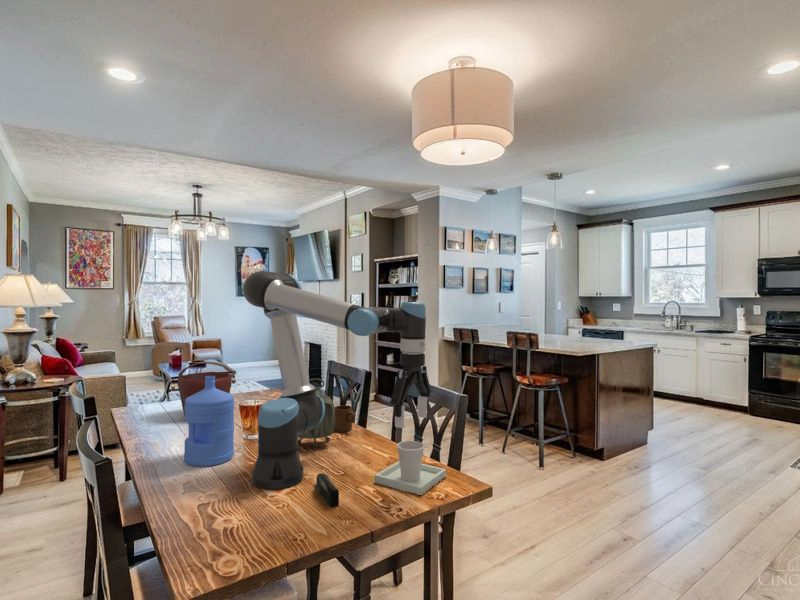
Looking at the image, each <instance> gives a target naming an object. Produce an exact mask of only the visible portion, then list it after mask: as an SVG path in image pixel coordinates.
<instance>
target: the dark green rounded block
mask: <svg viewBox="0 0 800 600" xmlns="http://www.w3.org/2000/svg"><path fill="white" fill-rule="evenodd" d="M313 485H314V487H315V489H317V492H318V493H319V494H320V495H321V497H322V500H323V501H324V502H325V503H326V505H327V506H328V507H331V508H335V506H337V507H339V503H340V502H339V501H340V499H339V498H340V496H339V495H340V490H339V488H337V487H336V486H335V485H334V483H333V482H332V481H331V480H330V477H329V475H327V474H326V473H317V475H316V483H315V484H313Z"/></svg>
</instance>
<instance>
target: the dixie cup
mask: <svg viewBox="0 0 800 600" xmlns="http://www.w3.org/2000/svg"><path fill="white" fill-rule="evenodd" d="M396 447H397V452H398V453H397V454H398V461H399V462H400V471H401V478H402V479H403V480H405V481H417V480H419V479H420V472H421V464H423V456H424V455H423V454H424V448H425V444H424V443H422V442H421V441H417V440H403V441H399V442H398V443H397V445H396Z"/></svg>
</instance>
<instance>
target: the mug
mask: <svg viewBox="0 0 800 600" xmlns="http://www.w3.org/2000/svg"><path fill="white" fill-rule="evenodd" d="M334 408H335V426H334V431H335V432H337V433H347V432H350V431H352V429H353V423H354V422H355V420H356V414H355V412H354V411H353V406H351V405H337V406H334Z"/></svg>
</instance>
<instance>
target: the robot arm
mask: <svg viewBox="0 0 800 600" xmlns="http://www.w3.org/2000/svg"><path fill="white" fill-rule="evenodd" d="M242 293H243V296H244V298H245V300H246V301H247V302H248V303H249V304H250V305H252V306H254V307H258V308H262V309H263V313H264V316H266V317H267V318H268V319H269V321H270V325H271V326H270V327H271V331H272V334H273V335H272V336H273V340H274V346H275V351H276V357H277V361H278V366H279V371H280V372H279V373H280V377H281V382H282V388H283V391H282V392H281V393H280V396H279V398H276V399H275V398H274V399H270V400H268V401H267V400H266V402H263V403H262V404H261V405H260V408H259V409H258V417H257V424H258V428H257V429H258V432H257V433H258V435H257V436H258V439H257V441H258V442H257V443H258V445H257V447H258V448H257V449H258V450H257V458H256V461H255V465H254V469H252V472H251V483H252V485H253V486H254V487H256V488H259V489H265V490H279V489H280V490H282V489H286V488H290V487H294V486H296V485H298V484H299V483H300V482H302V481H303V479H304V468H303V465H302V462H301V461H302V460H301V458H300V455H299V444H298V440H299V437H298V436H300V435H302V434H304V433H305V432H307V431H310V430H312V429H314V428H315V427H316V426H317V425H318V424H320V422H321V421H322V420H323V418H324V415H325V404H324V401H323V400H322V398H321V397H319V395H317V394H316V390H315V387H314V386H315V385H312V384H311V383H310V381H309V380H310V378H309V375H308V369H307V365H306V359H305V355H304V354H305V353H304V348H303V344H302V338H301V333H300V332H301V331H300V328H299V323H298V318H297V317H298V316H301V317H305V318H309V319H311V320H315V321H317V322H321V323H325V324H328V325H331V326H335V327H339V328H342V329H346V330H348V331H350V332H351V333H353V334H354V335H356V336H360V337H367V336H371V335H374V334H378V333H379V334H380V333H400V345H399V346H400V348H399V349H400V352H401V353H400V358H399V361H400V362H399V364H400V365H401V366H402V367H403V370H397V373H396V380H395V383H394V387H393V392H392V394H391V395H392V396H391V399H390V405H392V406H394V428H400V429H405V408H406V407H405V404H404V402H405V401H406V397H407V394H408V393H409V390H410V388H411V387H412V386H413V384H414V385H415V387H416V389H417V391H418V394H419V395H418V396H417V397H418V398H417V399H418V401H417V417H419V418H423V419H427V418H428V417H427V416H428V415H427V413H428V412H427V411H428V410H427V408H428V406H427V405H428V404H427V403H428V397H430V396H431V392H432V389H431V385H430V381H429V376H428V372H427V366H426V365H425V364H426V354H425V353H424V352H426V344H427V343H426V323H427V315H426V314H427V313H426V312H427V310H426V304H425V303H424V302H422V301H402V302H401V305H400V307H396V308H395V307H383V306H382V307H379V306H372V307H365V306H362V305H361V306H360V305H357V304H355V303H350V302H347V301H344V300H341V299H337V298H332V297H329V296H325V295H323V294H322V295H321V294H319V293H314V292H311V291H307V290H304V289H302V285H301V283H300V281H299V280H298V279H297V278H296V276H294V275H292V274H289V273H286V272H283V271H279V272H278V271H265V270H260V271H258V270H257V271H255V272H253V273H251V274H249V275H248V276H247V277H246V278H245V280H244V282H243V286H242ZM297 315H298V316H297Z"/></svg>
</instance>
